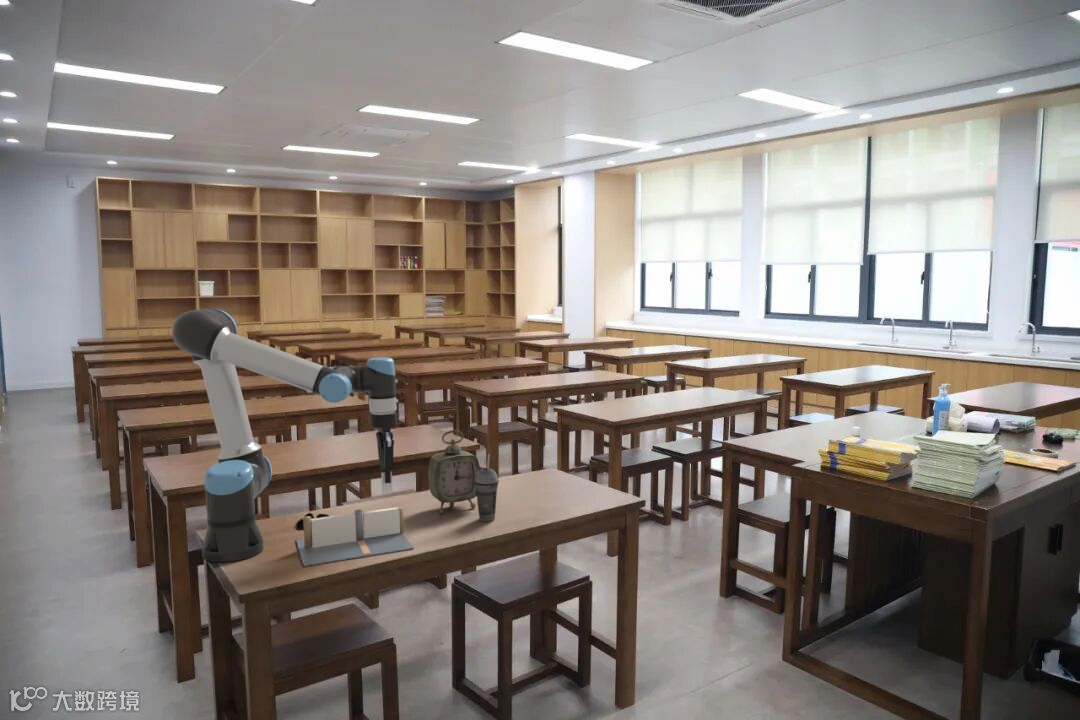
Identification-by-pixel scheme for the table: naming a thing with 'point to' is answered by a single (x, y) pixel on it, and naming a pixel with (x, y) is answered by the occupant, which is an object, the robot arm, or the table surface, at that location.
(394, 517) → the cream upright panel
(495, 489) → the beverage cup
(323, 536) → the fixed fence section
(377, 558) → the table surface
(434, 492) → the tabletop clock
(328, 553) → the card
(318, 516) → the black jagged rounded shell
